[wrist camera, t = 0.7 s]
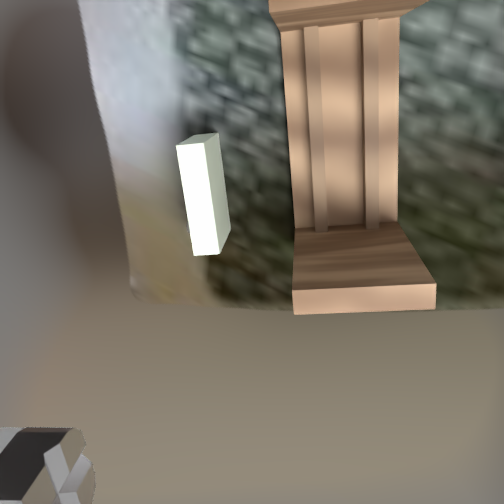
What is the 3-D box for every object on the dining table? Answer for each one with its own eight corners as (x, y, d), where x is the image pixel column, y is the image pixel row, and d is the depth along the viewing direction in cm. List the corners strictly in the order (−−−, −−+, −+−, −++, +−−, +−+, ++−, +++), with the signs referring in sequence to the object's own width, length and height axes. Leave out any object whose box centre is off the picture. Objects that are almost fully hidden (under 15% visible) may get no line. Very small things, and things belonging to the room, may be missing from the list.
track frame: (279, 7, 39) (266, -28, 25) (397, -8, 38) (452, -55, 24) (296, 243, 47) (294, 314, 33) (395, 237, 46) (435, 308, 32)
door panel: (186, 135, 44) (166, 146, 38) (218, 132, 44) (203, 142, 37) (201, 231, 48) (185, 256, 41) (231, 229, 47) (219, 254, 41)
